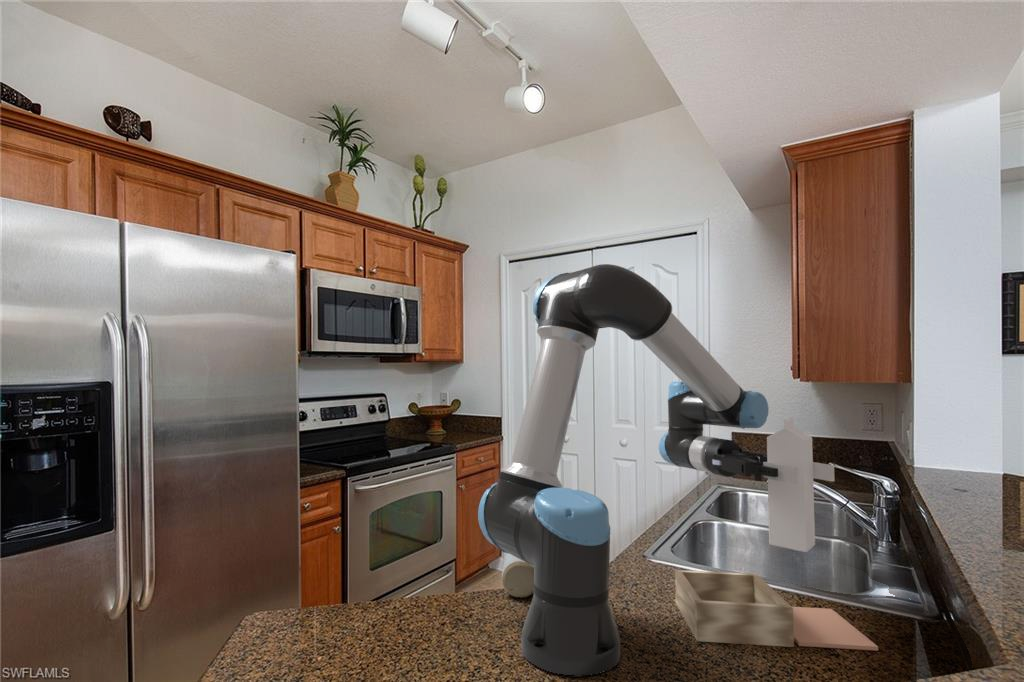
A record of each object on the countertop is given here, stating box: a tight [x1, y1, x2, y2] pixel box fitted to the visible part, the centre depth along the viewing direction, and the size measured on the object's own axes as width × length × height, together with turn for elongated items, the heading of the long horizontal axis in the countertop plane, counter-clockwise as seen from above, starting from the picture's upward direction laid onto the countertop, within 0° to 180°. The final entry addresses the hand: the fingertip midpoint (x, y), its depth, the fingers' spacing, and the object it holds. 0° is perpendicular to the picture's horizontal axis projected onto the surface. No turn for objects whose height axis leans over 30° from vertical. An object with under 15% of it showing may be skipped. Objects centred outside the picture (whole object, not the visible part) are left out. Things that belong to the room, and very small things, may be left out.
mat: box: [792, 606, 879, 651], centre depth 89 cm, size 12×14×1 cm
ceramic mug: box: [501, 553, 534, 599], centre depth 103 cm, size 11×8×8 cm
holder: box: [674, 569, 795, 648], centre depth 91 cm, size 15×15×6 cm
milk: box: [766, 418, 816, 553], centre depth 93 cm, size 6×6×22 cm
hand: (814, 474), depth 88 cm, fingers closed on milk, 8 cm apart
